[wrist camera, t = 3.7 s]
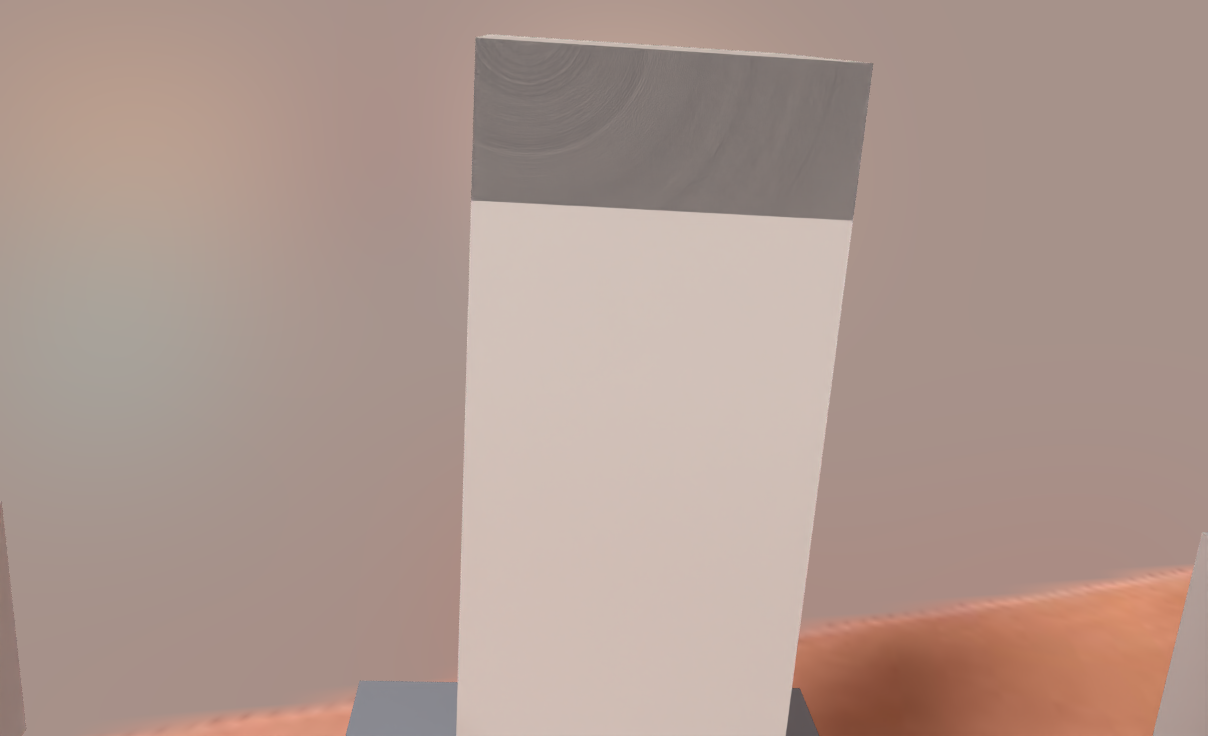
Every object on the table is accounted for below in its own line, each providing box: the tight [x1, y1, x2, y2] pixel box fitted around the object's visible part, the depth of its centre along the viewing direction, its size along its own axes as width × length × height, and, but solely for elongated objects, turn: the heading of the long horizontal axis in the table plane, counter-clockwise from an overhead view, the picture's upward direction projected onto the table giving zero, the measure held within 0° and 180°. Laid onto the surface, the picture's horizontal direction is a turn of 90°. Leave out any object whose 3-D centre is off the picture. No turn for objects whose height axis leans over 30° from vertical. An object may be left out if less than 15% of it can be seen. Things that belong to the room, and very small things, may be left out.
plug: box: [456, 34, 873, 736], centre depth 18 cm, size 5×5×14 cm
